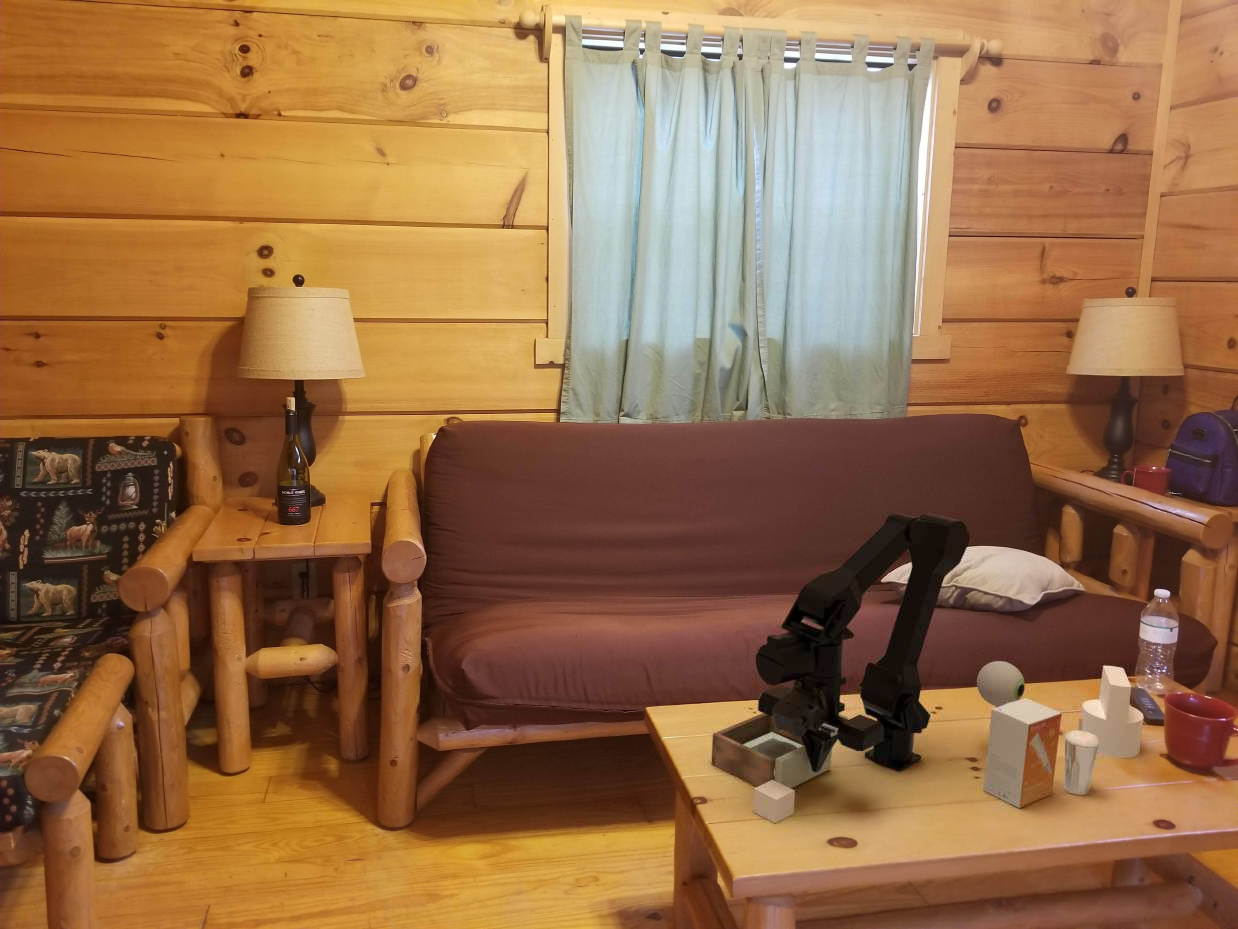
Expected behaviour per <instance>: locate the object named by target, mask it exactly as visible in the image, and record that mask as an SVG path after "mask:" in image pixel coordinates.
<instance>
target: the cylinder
mask: <svg viewBox="0 0 1238 929" xmlns="http://www.w3.org/2000/svg"><path fill="white" fill-rule="evenodd" d="M795 749H798V748H797V747H796V746H794V745H792V744H790V743H787V742H783V741H766V742H763V743H761V744H760V745H759V746H758V748H757V752H759V753H761V754H764V755H766V756H768V757H770V758H772V759H774V760H775V764H776V758H778V757H780V756H783V755H785V754H787V753H789V752H791V751H793V750H795ZM774 769H775V766H774Z"/></svg>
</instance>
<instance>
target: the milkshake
mask: <svg viewBox="0 0 1238 929" xmlns="http://www.w3.org/2000/svg"><path fill="white" fill-rule="evenodd" d="M1078 720H1079V721H1078V730H1077V729H1075V730H1074V729H1073V730H1070V731H1068V732H1067V733H1066V734H1065V735H1064V782H1063V783H1064V790H1065V791H1066V792H1068V793H1070V794H1072V795H1076V796H1086V795H1087V794H1089V791H1090V784H1091V781H1092V775H1093V770H1094V766H1095V762H1096V757H1097V754H1098V753H1097V750H1098V746H1099V740H1098V738H1097V737H1096V736H1095V735H1094V734H1091V733H1089V732H1084V731H1082V723H1083V719H1081V718H1078Z"/></svg>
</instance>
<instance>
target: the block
mask: <svg viewBox="0 0 1238 929" xmlns="http://www.w3.org/2000/svg"><path fill="white" fill-rule="evenodd" d="M795 791H796V790H794V789H793V788H789V787H787V786H784V785H782V784H780V783H778V782H776V781H774V780H771V781H769V782H767V783H765V784H763V785H760V786H758V787H756V786H755V787H754V788H753V800H752V801H753V805H752V813H755V814H756V815H758V816H760V817H762V818H764V819H766V820H768V821H770V822H772V823H774V824H777V823H779V822H781V821H782V820H784V819H786V818H789V817H790V816H792V815H793V814H794V812H795V811H794V808H795V796H796V795H795V794H796V792H795Z"/></svg>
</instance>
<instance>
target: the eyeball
mask: <svg viewBox="0 0 1238 929" xmlns="http://www.w3.org/2000/svg"><path fill="white" fill-rule="evenodd" d="M976 687H977V690H978V693H979V694H980V696H981V697H982V699H983V700H984V701H986V702H987V703H988V704H989V705H992V706H995V708H997V707H1000V706H1002V705H1005V704H1007V703H1010V702H1014V701H1017V700H1021V699H1022V698H1023V695H1024V692H1025V688H1026V685H1025V678H1024V676H1023V674H1022V672H1021V671H1020V670H1019V668H1017V667H1016V666H1014V665H1013V664H1011V663H1009V662H1008V661H1004V660H1003V661H1001V660H999V661H998V660H997V661H996V660H995V661H992V662H988V663H986V665H984V666H983V667H981V669H980V671H979V672H978V674H977V677H976Z"/></svg>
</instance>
